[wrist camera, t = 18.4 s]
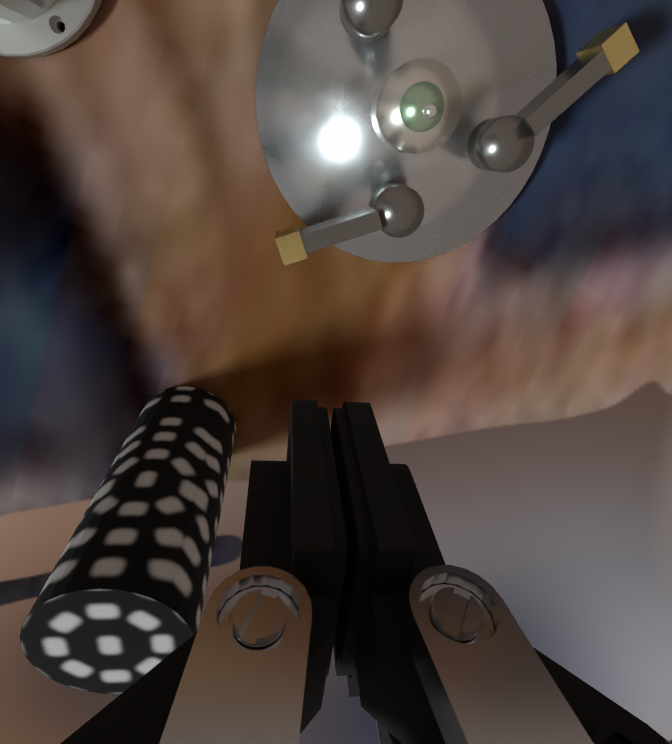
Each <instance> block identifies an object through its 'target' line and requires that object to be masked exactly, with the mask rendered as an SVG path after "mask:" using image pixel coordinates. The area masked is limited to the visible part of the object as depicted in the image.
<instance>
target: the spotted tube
mask: <svg viewBox="0 0 672 744" xmlns="http://www.w3.org/2000/svg"><path fill="white" fill-rule="evenodd" d="M235 433H236V424H235V419H234V417H233V414H232V412H231V411H230V409H229V407H228V406H227V405H226V404H225V403H224V402H223V401H222V400H221V399H220V398H218V397H217V396H216V395H214V394H212V393H210V392H208V391H206V390H203V389H199V388H196V387H187V386H183V387H173V388H169V389H166V390H164V391H161V392H159V393H157V394H156V395H155V396H153V397H152V398H151V399H150V400H149V401H148V402H147V403H146V405H145V406H144V408H143V410H142V412H141V414H140V415H139V417H138V419H137V421H136V423H135V424H134V426H133V428H132V430H131V432H130V433H129V435H128V437H127V439H126V441H125V442H124V444H123V446H122V448H121V449H120V451H119V453H118V455H117V457H116V458H115V460H114V462H113V464H112V466H111V467H110V469H109V471H108V473H107V475H106V476H105V478H104V480H103V482H102V484H101V485H100V487H99V489H98V491H97V493H96V494H95V496H94V498H93V500H92V501H91V503H90V505H89V507H88V509H87V510H86V512H85V514H84V516H83V518H82V520H81V521H80V523H79V525H78V527H77V528H76V530H75V532H74V534H73V536H72V538H71V539H70V541H69V543H68V545H67V546H66V548H65V550H64V552H63V553H62V555H61V557H60V559H59V561H58V563H57V564H56V566H55V568H54V570H53V571H52V573H51V575H50V577H49V579H48V580H47V582H46V584H45V586H44V588H43V589H42V591H41V593H40V595H39V596H38V598H37V600H36V602H35V604H34V605H33V607H32V609H31V611H30V613H29V614H28V616H27V618H26V620H25V622H24V624H23V625H22V629H21V634H20V641H21V647H22V650H23V651H24V653H25V655H26V658H27V659H28V660H29V661H30V662H31V664H32V665H33V666H34V667H35V668H36V669H38V670H39V671H40V672H42V673H43V674H44V675H45V676H47V677H49V678H51V679H53V680H55V681H57V682H59V683H61V684H64V685H66V686H69V687H72V688H75V689H79V690H84V691H88V692H96V693H107V694H122V693H123V692H124V691H125V690H127V689H128V688H129V687H130V686H132V685H133V684H134V683H135V682H136V681H138V680H139V679H140V678H141V677H143V676H144V675H145V674H146V673H147V672H149V671H150V670H151V669H152V668H154V667H155V666H156V665H157V664H158V663H160V662H161V661H162V660H163V659H165V658H166V657H167V656H168V655H169V654H171V653H172V652H173V651H174V650H176V649H177V648H178V647H179V646H180V645H182V644H183V643H184V642H185V641H187V640H188V639H189V638H190V637H191V636H193V635H194V634H195V633H196V632H197V631H198V628H199V623H200V618H201V613H202V608H203V602H204V597H205V591H206V586H207V581H208V576H209V571H210V566H211V560H212V555H213V550H214V545H215V539H216V534H217V529H218V523H219V518H220V513H221V508H222V503H223V497H224V492H225V487H226V482H227V476H228V471H229V466H230V461H231V455H232V450H233V445H234V440H235Z"/></svg>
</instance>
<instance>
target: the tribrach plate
mask: <svg viewBox="0 0 672 744" xmlns="http://www.w3.org/2000/svg"><path fill="white" fill-rule="evenodd" d="M340 1H341V0H279V1H278V3H277V5H276V8H275V10H274V12H273V14H272V16H271V18H270V21H269V24H268V27H267V30H266V33H265V36H264V39H263V43H262V48H261V52H260V57H259V62H258V69H257V80H256V115H257V122H258V130H259V136H260V140H261V144H262V148H263V152H264V156H265V159H266V161H267V164H268V166H269V169H270V172H271V174H272V177H273V179H274V180H275V182H276V184H277V186H278V188H279V190H280V192H281V194H282V195H283V197H284V198H285V200H286V201H287V203H288V204H289V205H290V207H291V208H292V210H293V211H294V212H295V213H296V214H297V215H298V217H299V218H300V219H301V220H302V221H303V222H304V223H305V224H306V225H307V226H312V225H315V224H318V223H321V222H324V221H327V220H330V219H333V218H337V217H340V216H343V215H346V214H349V213H352V212H355V211H359V210H362V209H365V208H368V207H369V201H370V198H371V196H372V194H373V193H374V191H375V190H376V189H377V188H378V187H380V186H381V185H383V184H386V183H399V184H401V185H404V186H407V187H410V188H412V189H414V190H415V191H416V192H417V193H418V194H419V195H420V196H421V198H422V200H423V203H424V217H423V220H422V222H421V224H420V226H419V227H418V229H417V230H416V231H415V232H413V233H412V234H410V235H409V236H406V237H403V238H394V237H390V236H388V235H386V234H385V233H384V232H383V231H382V230H379V231H376V232H373V233H369V234H366V235H363V236H360V237H357V238H354V239H350V240H347V241H344V242H341V243H338V244H335V245H334V246H335V247H337V248H339V249H341V250H344V251H346V252H348V253H350V254H353V255H356V256H359V257H362V258H366V259H370V260H376V261H382V262H410V261H419V260H423V259H427V258H432V257H435V256H438V255H441V254H443V253H446V252H449V251H451V250H453V249H455V248H457V247H459V246H461V245H463V244H465V243H467V242H468V241H470V240H471V239H473V238H474V237H476V236H477V235H479V234H480V233H482V232H483V231H484V230H485V229H486V228H488V227H489V226H490V225H491V224H492V223H493V222H495V221H496V220H497V219H498V218H499V217H500V216H501V215H502V214H503V212H504V211H505V210H506V209H507V208H508V207H509V206H510V205H511V203H512V202H513V201H514V199H515V198H516V197H517V195H518V194H519V193H520V191H521V190H522V189H523V187H524V185H525V184H526V182H527V180H528V179H529V177H530V175H531V174H532V172H533V170H534V168H535V165H536V163H537V161H538V159H539V157H540V155H541V152H542V150H543V147H544V144H545V141H546V138H547V135H548V132H549V128H550V124H551V123H550V124H549V125H548V126H547V127H545V128H544V129H543V130H542V131H541V132H540V133H539V134H538V135H536V136H534V138H535V140H534V147H533V150H532V153H531V155H530V157H529V158H528V160H527V161H526V162H525V164H523V165H522V166H521V167H520V168H518V169H517V170H515V171H512V172H508V173H502V172H495V171H488V170H482V169H479V168H477V167H476V166H474V165H473V163H472V162H471V160H470V158H469V156H468V151H467V146H468V140H469V137H470V135H471V133H472V131H473V129H474V128H475V127H476V126H477V125H478V124H479V123H480V122H482V121H483V120H486V119H488V118H494V117H502V116H510V115H516V114H517V113H518V112H519V111H521V110H522V109H523V108H524V107H525V106H526V105H527V104H528V103H529V102H530V101H532V100H533V99H534V98H535V97H536V96H537V95H538V94H539V93H540V92H541V91H543V90H544V89H545V88H546V87H547V86H548V85H549V84H550V83H551V82H552V81H553V80H555V79H556V68H557V64H556V54H555V45H554V38H553V34H552V29H551V25H550V20H549V17H548V14H547V11H546V8H545V6H544V3H543V0H403V6H402V9H401V12H400V14H399V16H398V18H397V19H396V21H395V22H394V23H393V24H392V26H391V27H390V28H389V29H388V30H387V31H386V33H385V34H384V35H383V36H382V37H381V38H380V39H378V40H376V41H374V42H371V43H360V42H357V41H355V40H354V39H352V38H351V37H350V36H349V35H348V34H347V33H346V31H345V30H344V28H343V25H342V23H341V19H340V11H339V10H340Z"/></svg>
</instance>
